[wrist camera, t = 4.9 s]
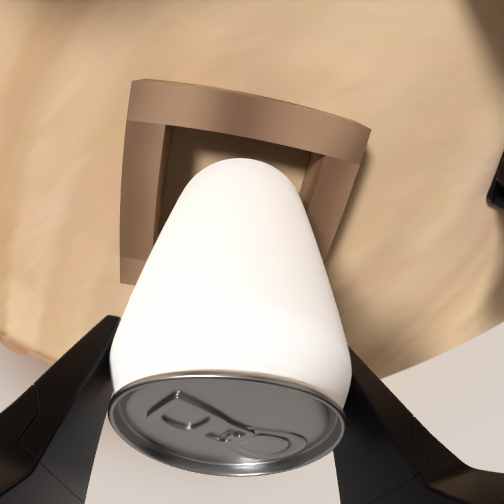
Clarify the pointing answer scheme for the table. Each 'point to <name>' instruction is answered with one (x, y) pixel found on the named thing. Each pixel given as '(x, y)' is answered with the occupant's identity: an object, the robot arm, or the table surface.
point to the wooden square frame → (235, 123)
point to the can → (232, 333)
